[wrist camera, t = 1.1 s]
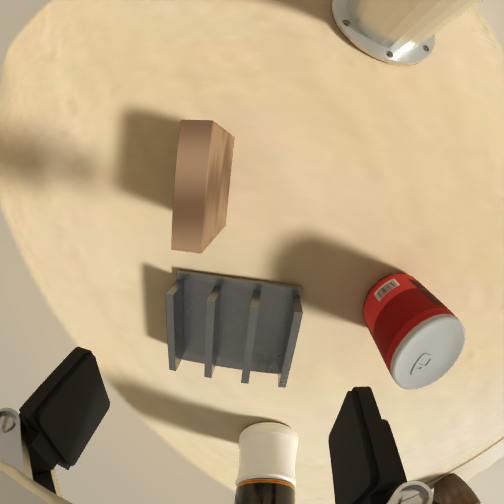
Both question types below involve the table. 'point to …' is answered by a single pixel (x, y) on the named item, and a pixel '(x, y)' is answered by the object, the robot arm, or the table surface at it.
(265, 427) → the vodka
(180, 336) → the rack
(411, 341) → the canned food
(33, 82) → the table surface
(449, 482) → the plant pot
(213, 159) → the board
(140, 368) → the table surface
